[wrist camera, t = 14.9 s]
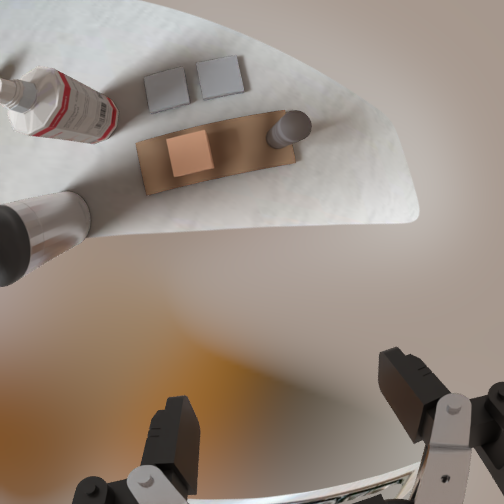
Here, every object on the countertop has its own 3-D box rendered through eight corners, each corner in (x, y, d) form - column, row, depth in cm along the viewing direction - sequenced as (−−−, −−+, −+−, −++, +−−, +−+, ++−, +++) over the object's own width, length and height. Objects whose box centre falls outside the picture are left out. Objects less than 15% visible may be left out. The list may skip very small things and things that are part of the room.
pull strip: (148, 194, 43) (115, 206, 30) (137, 143, 41) (100, 134, 28) (294, 163, 44) (322, 160, 30) (283, 111, 42) (306, 86, 28)
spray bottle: (115, 90, 39) (24, 34, 15) (123, 133, 41) (26, 105, 17) (73, 108, 39) (-32, 76, 15) (80, 149, 41) (-31, 144, 17)
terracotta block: (180, 176, 42) (174, 176, 37) (173, 142, 41) (166, 139, 36) (214, 168, 42) (212, 167, 37) (207, 134, 41) (204, 129, 36)
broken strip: (151, 113, 41) (149, 112, 39) (145, 79, 39) (143, 77, 38) (243, 92, 41) (244, 90, 40) (236, 57, 39) (236, 55, 38)
